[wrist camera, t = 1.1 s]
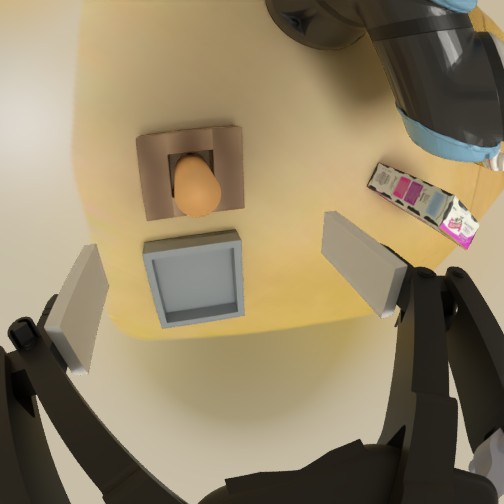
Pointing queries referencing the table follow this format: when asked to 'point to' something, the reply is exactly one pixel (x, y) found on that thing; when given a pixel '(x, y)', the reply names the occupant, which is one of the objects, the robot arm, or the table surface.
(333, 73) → the table surface
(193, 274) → the tray
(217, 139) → the hitch block
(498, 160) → the supplement bottle
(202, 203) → the pin
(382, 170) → the candy bar box
